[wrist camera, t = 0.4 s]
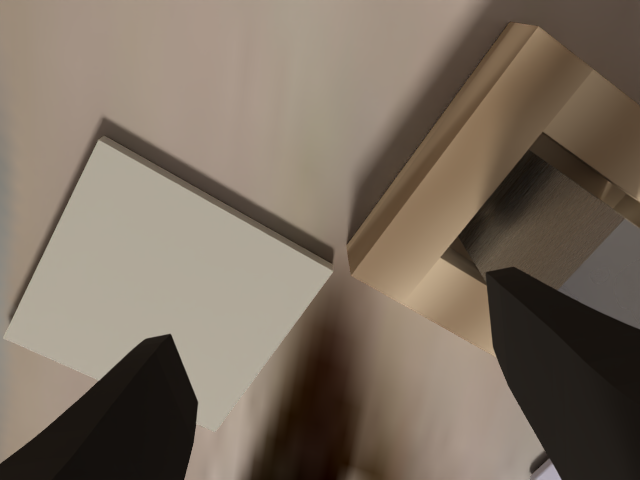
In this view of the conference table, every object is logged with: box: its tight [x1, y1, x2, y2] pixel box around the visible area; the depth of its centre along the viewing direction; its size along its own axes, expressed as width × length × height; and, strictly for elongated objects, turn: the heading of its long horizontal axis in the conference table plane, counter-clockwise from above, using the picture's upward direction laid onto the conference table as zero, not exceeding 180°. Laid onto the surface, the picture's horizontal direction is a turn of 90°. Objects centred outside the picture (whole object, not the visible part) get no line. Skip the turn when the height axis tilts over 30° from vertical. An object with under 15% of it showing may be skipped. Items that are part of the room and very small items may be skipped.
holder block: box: [346, 22, 640, 358], centre depth 20 cm, size 10×10×2 cm
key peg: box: [458, 149, 640, 329], centre depth 18 cm, size 4×4×7 cm
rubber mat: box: [3, 136, 333, 432], centre depth 22 cm, size 10×10×1 cm
